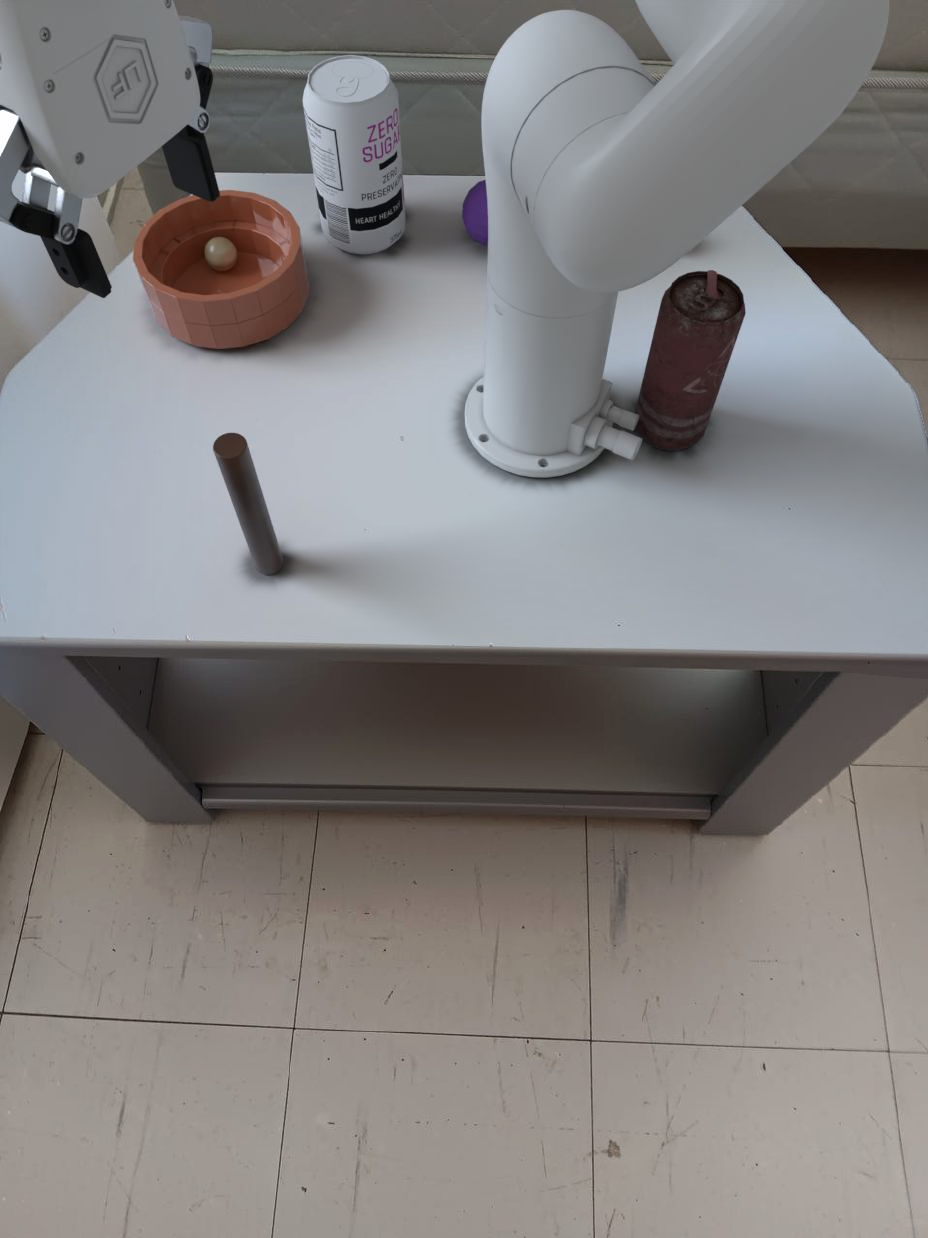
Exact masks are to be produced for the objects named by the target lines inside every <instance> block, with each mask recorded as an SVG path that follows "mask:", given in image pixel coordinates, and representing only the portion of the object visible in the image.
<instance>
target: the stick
mask: <svg viewBox="0 0 928 1238" xmlns="http://www.w3.org/2000/svg"><path fill="white" fill-rule="evenodd" d="M212 451H213V454H214V456H215V459H216V462H217V464H218V467H219V471H220V473H221V475H222V478H223V482H224V484H225V487H226V489H227V492H228V496H229V497H230V501H231V504H232V506H233V509H234V512H235V514H236V517H237V520H238V523H239V526H240V527H241V531H242V534H243V536H244V539H245V542H246V545H247V547H248V551H249V553H250V555H251V558H252V561H253V565H254V567H255V569H256V571H257V572H258V573H260V574H261V575H265V576H270V575H275V574H277V573H278V572H280V570H281V569H282V568H283V566H284V557H283V555H282V554H283V553H282V551H281V547H280V545H279V542H278V537H277V534H276V531H275V527H274V524H273V522H272V518H271V515H270V512H269V508H268V505H267V502H266V499H265V496H264V492H263V490H262V486H261V483H260V480H259V476H258V474H257V469H256V467H255V464H254V461H253V457H252V454H251V451H250V447H249V445H248V441H247V439H246V438H245V436H243V435H242V434H240V433H239V432H226V433H223V434H221V435H219V436H218V437H217V438H216V439H215V440H214V442H213V445H212Z"/></svg>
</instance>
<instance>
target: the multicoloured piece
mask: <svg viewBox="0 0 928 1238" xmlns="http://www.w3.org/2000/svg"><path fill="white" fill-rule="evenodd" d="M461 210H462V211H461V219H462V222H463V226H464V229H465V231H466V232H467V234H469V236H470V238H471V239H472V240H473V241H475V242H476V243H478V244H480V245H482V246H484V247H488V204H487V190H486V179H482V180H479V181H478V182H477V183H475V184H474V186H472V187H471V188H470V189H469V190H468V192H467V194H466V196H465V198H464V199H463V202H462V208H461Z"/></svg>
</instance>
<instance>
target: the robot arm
mask: <svg viewBox="0 0 928 1238" xmlns="http://www.w3.org/2000/svg"><path fill="white" fill-rule="evenodd" d="M634 1H635V3H636V6H637V8H638V10H639V12H640V14H641V16H642V17H643V19H644V20H645V23H646V24H647V26H648V27H649V29H650V30H651V32H652V34H653V35H654V37H655V38H656V40H657V42H658V43H659V44H660V47H662V49H663V50H664V52H665V54H666V55H667V56H668V58H669V59H670V61H671V62H672V64H673V65H672V66H671V67H670V68H669V70H668V71H667V72H666V73H665V74H664V76H662V78H661V79H660V80H659V81H658V82H657V83H656V84H655V82H654V80H653V79H652V77H651V76H650V74H649V73H648V71H647V70H646V68H645V67H644V65H643V64H642V62H641V60H640V59H639V58H638V57H637V55H636V53H635V52H634V51H633V50H632V49H631V47H630V46H629V44H628V43H627V42H626V41H625V39H624V38H623V37H622V36H621V35H620V34H619V33H618V32H617V31H615V30H614V28H612V27H611V26H610V25H608V24H607V23H606V22H605V21H603V20H601V19H600V18H599V17H596V16H594V15H592V14H589V13H587V12H583V11H579V10H575V9H574V10H573V9H558V10H551V11H547V12H544V13H541V14H539V15H536V16H534V17H532V18H530V19H529V20H527V21H526V22H524V23H523V24H521V25H520V26H519V27H518V28H517V29H515V30H514V32H513V33H511V35H509V36H508V38H507V39H506V40H505V41H504V43H503V45H502V46H501V47H500V49H499V50H498V52H497V53H496V56H495V57H494V60H493V62H492V65H491V66H490V68H489V72H488V75H487V77H486V81H485V84H484V90H483V94H482V95H483V96H482V101H481V116H480V117H481V118H480V119H481V120H480V123H481V125H480V126H481V128H480V129H481V145H482V157H483V165H484V167H483V168H484V177H485V179H484V180H486V190H487V204H488V246H487V267H486V289H485V290H486V292H485V321H484V322H485V323H484V330H485V331H484V359H483V362H484V363H483V375H482V377H480V379H478V380H477V381H476V383H474V385H473V386H472V388H471V390H470V391H469V392H468V396H467V398H466V401H465V406H464V427H465V430H466V433H467V437H468V439H469V441H470V442H471V444H472V446H473V448H474V449H475V450H476V451H477V452H478V453H479V454H480V456H481V457H483V458H484V459H485V460H487V461H488V462H489V463H491V464H492V465H494V466H496V467H497V468H499V469H501V470H504V471H505V472H509V473H512V474H514V475H517V476H522V477H530V478H553V477H561V476H564V475H568V474H571V473H574V472H577V471H578V470H580V469H583V468H585V467H587V466H588V465H590V463H592V462H593V461H595V459H596V460H597V458H598V457H599V456H600V455H601V454H602V452H603V451H604V450H605V449H606V450H608V451H611V452H612V453H613V454H615V455H618V456H620V457H623V458H625V459H628V460H630V461H634V460H635V458H636V457H637V455H638V453H639V451H640V449H641V445H642V442H643V438H642V437H641V436H637V435H635V434H632V433H631V432H630V433H629V432H627V431H625V430H622V429H621V430H619V429H617V428H615V427H614V426H613V425H614V424H617V425H618V426H619V427H622V428H625V429H627V430H630V431H634V430H635V429H636V425H637V422H638V420H639V415H637V414H635V412H633V411H630V410H628V409H622V408H620V407H617V406H615V402H614V401H613V400H611V399H610V398H611V397H610V396H611V392H612V386H613V383H612V382H611V381H609V380H606V379H603V378H604V373H605V368H606V367H605V366H606V361H607V357H608V351H609V345H610V339H611V335H612V328H613V324H614V319H615V313H616V307H617V303H618V298H619V297H618V296H619V292H624V291H627V290H630V289H633V288H635V287H638V286H641V285H642V284H644V283H646V282H648V281H651V280H652V279H654V278H655V277H657V276H659V275H660V274H662V273H663V272H665V271H666V270H667V269H669V268H670V267H672V266H673V265H675V264H676V263H677V262H678V261H679V260H681V259H682V258H684V256H686V255H687V254H688V253H689V252H691V251H692V250H693V249H694V248H696V246H698V245H699V244H700V243H702V241H704V240H705V239H706V238H707V237H708V236H709V235H710V234H712V233H713V232H714V231H715V230H716V229H717V228H718V227H719V226H721V225H722V224H723V223H725V221H726V220H727V219H728V218H729V217H731V216H732V215H733V214H734V213H736V211H738V210H739V209H740V208H741V207H742V206H743V205H744V204H746V203H747V201H749V200H750V199H751V198H752V197H753V196H755V194H756V193H758V192H759V191H760V190H762V189H763V188H764V187H765V186H766V185H767V184H768V183H769V182H770V181H771V180H773V179H774V178H775V177H776V176H777V175H778V174H779V173H780V172H781V171H782V170H784V169H785V168H786V167H787V166H788V165H789V164H790V163H792V162H793V161H794V160H795V159H796V158H797V157H799V155H801V154H802V153H803V152H804V151H806V149H807V148H808V147H809V146H811V145H812V144H813V143H814V142H815V141H816V140H817V139H818V138H819V137H820V136H821V135H822V134H824V132H825V131H826V130H828V128H829V127H830V126H832V124H833V123H834V122H835V121H836V120H837V119H838V118H839V117H840V116H841V114H843V112H844V111H845V110H846V109H847V107H848V106H849V105H850V103H851V102H852V100H854V98H855V97H856V95H857V94H858V92H859V91H860V89H861V87H862V86H863V84H864V82H865V81H866V79H867V78H868V77H869V74H870V73H871V71H872V69H873V67H874V65H875V63H876V61H877V59H878V56H879V54H880V51H881V49H882V46H883V43H884V39H885V37H886V33H887V29H888V24H889V18H890V17H889V16H890V0H634ZM213 39H214V29H213V26H212V24H211V23H209V22H208V21H205V20H201V19H199V18H196V17H193V16H189V15H179V14H178V11H177V7H176V5H175V2H174V0H0V222H2V223H4V224H6V225H9V226H10V227H13V228H15V229H17V230H19V231H21V232H24V233H26V234H29V235H35V236H38V237H40V239H41V241H42V244H43V245H44V247H45V249H46V251H47V254H48V256H49V258H50V260H51V262H52V264H53V267H54V269H55V271H56V273H57V275H58V276H59V278H60V279H61V280H62V281H63V282H64V283H66V284H67V285H68V286H71V287H73V288H75V289H80V288H81V289H83V290H84V291H86V292H89V293H91V294H93V295H95V296H97V297H99V298H101V299H105V298H107V296H109V295H110V294H111V293H112V284H111V282H110V279H109V277H108V274H107V272H106V270H105V266H104V264H103V261H102V260H101V258H100V255H99V253H98V250H97V247H96V245H95V242H94V240H93V239H92V236H91V235H90V234H89V233H88V232H87V231H85V230H83V229H81V228H79V225H80V224H79V223H80V217H81V210H82V204H83V199H86V200H87V199H92V198H96V197H98V196H99V195H102V194H103V193H105V192H107V191H108V190H110V189H111V188H112V187H113V186H115V185H116V184H117V183H118V182H120V181H121V180H122V179H123V178H125V177H126V176H127V175H128V174H130V173H131V172H132V171H134V169H136V168H137V167H138V166H139V165H141V164H142V163H143V162H144V161H145V160H147V159H148V158H149V157H151V156H152V155H153V154H155V152H157V151H158V150H159V149H160V148H161V149H162V152H163V155H164V158H165V162H166V165H167V169H168V172H169V176H170V178H171V181H172V184H173V186H174V187H175V188H176V189H178V190H180V191H182V192H185V193H187V194H190V195H191V196H192V195H195V196H197V197H199V198H202V199H204V200H207V201H212V202H213V201H215V200H216V199H217V198H218V197H219V196H220V192H219V191H220V188H219V185H218V182H217V181H218V180H217V177H216V173H215V169H214V166H213V162H212V158H211V155H210V154H211V153H210V150H209V147H208V146H209V145H208V142H207V139H206V136H205V133H206V132H208V130H209V128H210V127H211V115H210V112H208V110H206V109H207V105H208V102H209V98H210V94H211V90H212V86H213V83H214V74H213V71H212V69H211V68H210V64H212V56H213V42H214V41H213ZM19 171H20V172H21V173H23V174H24V175H25V177H24V184H23V191H22V199H21V200H20V199H19V198H18V197H16V196H15V194H14V192H13V187H12V186H13V183H14V181H15V179H16V177H17V175H18V172H19ZM51 186H55V187H56V189H57V190H56V197H55V203H54V210H52V209H48V206H49V201H50V194H51Z"/></svg>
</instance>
